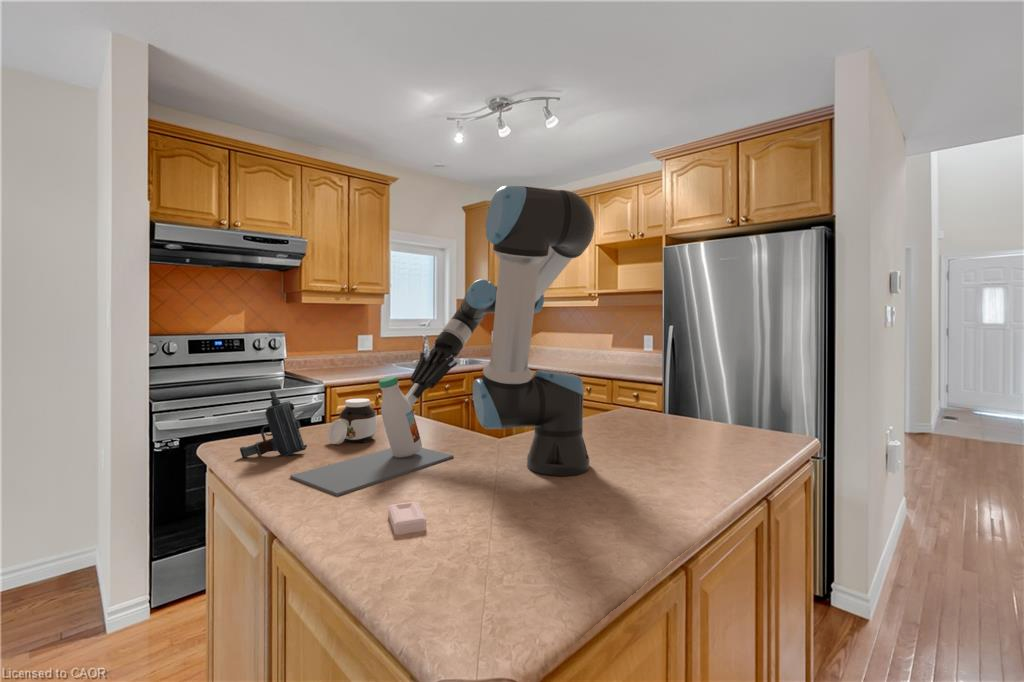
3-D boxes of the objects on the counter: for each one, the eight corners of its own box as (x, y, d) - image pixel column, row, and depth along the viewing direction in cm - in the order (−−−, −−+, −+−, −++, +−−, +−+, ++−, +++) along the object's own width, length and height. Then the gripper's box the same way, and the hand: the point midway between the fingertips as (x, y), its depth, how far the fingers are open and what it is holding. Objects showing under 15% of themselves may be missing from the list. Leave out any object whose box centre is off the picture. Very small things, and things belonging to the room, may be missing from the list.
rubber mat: (406, 445, 139) (406, 443, 139) (453, 457, 128) (453, 455, 128) (290, 477, 112) (290, 475, 112) (337, 496, 101) (337, 493, 101)
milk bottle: (410, 459, 123) (388, 383, 119) (386, 458, 127) (365, 384, 123) (428, 444, 130) (409, 372, 125) (406, 444, 133) (386, 373, 129)
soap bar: (417, 512, 94) (417, 500, 94) (426, 532, 86) (426, 518, 86) (388, 516, 92) (388, 503, 92) (395, 537, 84) (395, 523, 84)
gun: (227, 403, 127) (288, 386, 130) (248, 465, 129) (307, 446, 132) (224, 405, 124) (286, 388, 128) (245, 468, 126) (306, 449, 130)
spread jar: (380, 437, 148) (379, 398, 148) (362, 447, 137) (361, 405, 137) (342, 435, 151) (342, 397, 150) (322, 445, 139) (321, 404, 139)
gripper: (475, 349, 140) (429, 418, 128) (443, 346, 148) (397, 410, 137) (462, 331, 135) (413, 401, 124) (430, 328, 143) (381, 393, 132)
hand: (405, 405), depth 130 cm, fingers closed
